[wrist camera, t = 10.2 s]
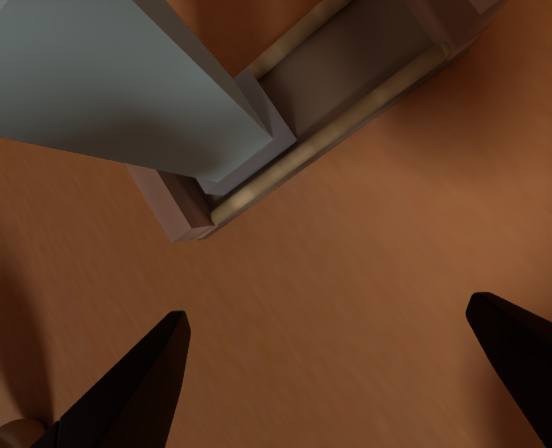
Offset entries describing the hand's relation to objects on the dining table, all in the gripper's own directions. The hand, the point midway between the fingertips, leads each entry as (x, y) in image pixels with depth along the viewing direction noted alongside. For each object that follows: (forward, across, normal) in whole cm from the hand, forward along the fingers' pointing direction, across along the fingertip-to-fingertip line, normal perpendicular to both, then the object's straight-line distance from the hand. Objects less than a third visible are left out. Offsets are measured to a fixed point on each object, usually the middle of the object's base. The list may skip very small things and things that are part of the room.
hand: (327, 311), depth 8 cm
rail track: (+13, 0, -4) cm, 14 cm away
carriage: (+12, +3, -3) cm, 13 cm away
